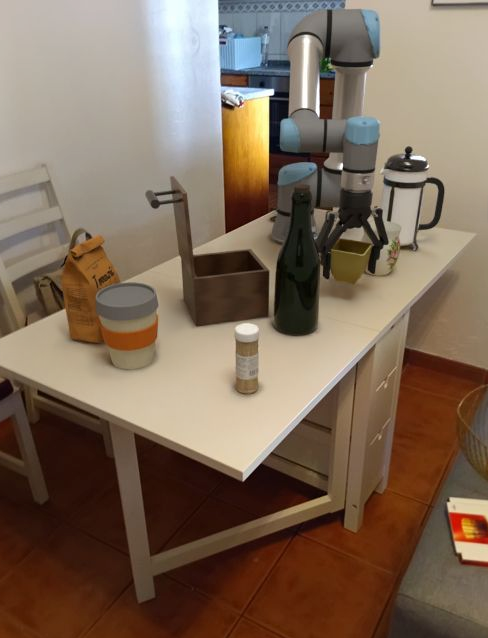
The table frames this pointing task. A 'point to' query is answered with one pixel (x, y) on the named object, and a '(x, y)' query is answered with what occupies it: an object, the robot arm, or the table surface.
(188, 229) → the lid
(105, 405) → the table surface
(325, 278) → the robot arm
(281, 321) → the dark green wine bottle
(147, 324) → the reusable coffee cup
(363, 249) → the flower pot
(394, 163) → the coffee press
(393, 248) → the pitcher
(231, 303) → the chest
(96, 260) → the coffee package
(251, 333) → the sprinkles bottle
